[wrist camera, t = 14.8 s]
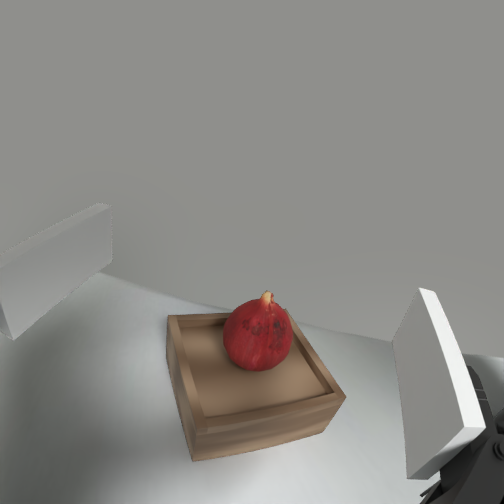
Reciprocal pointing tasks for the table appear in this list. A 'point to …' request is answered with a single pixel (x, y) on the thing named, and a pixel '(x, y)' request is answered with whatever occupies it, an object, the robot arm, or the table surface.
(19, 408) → the table surface
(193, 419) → the walnut tray
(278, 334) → the onion
